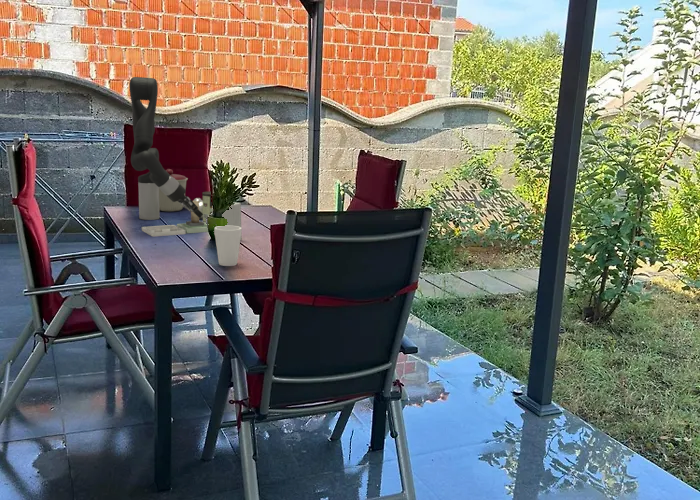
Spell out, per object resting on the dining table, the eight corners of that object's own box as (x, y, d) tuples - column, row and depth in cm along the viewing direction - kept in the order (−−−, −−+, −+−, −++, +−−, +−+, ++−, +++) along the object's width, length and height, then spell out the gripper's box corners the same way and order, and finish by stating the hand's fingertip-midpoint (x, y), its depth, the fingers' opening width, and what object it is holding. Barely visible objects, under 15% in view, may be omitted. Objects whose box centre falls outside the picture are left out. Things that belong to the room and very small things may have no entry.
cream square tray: (141, 232, 280) (141, 227, 279) (173, 230, 288) (173, 224, 287) (152, 238, 269) (152, 233, 268) (185, 236, 277) (185, 230, 276)
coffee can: (228, 221, 314) (228, 192, 311) (219, 225, 305) (219, 194, 302) (207, 219, 316) (207, 190, 313) (198, 223, 307) (198, 193, 303)
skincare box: (242, 239, 275) (242, 202, 271) (234, 242, 268) (234, 204, 265) (224, 237, 277) (224, 201, 274) (216, 240, 271) (216, 203, 268)
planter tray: (176, 230, 288) (176, 223, 287) (203, 228, 294) (202, 222, 294) (186, 235, 278) (186, 228, 277) (213, 233, 285) (213, 226, 284)
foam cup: (216, 260, 238) (216, 225, 235) (242, 260, 239) (242, 225, 236) (213, 266, 229) (213, 230, 226) (240, 267, 230) (240, 230, 227)
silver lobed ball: (192, 216, 324) (192, 196, 321) (211, 217, 323) (211, 197, 321) (187, 219, 315) (187, 198, 313) (207, 220, 314) (207, 199, 312)
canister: (160, 206, 349) (159, 166, 344) (193, 208, 346) (192, 168, 342) (145, 211, 331) (144, 169, 326) (179, 214, 329) (179, 171, 324)
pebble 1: (153, 234, 273) (153, 227, 273) (160, 233, 275) (160, 226, 274) (156, 235, 271) (155, 228, 270) (163, 234, 273) (163, 227, 272)
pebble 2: (169, 233, 277) (168, 226, 276) (175, 232, 279) (175, 225, 278) (171, 234, 274) (171, 227, 274) (178, 233, 276) (178, 226, 275)
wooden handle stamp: (185, 224, 286) (185, 200, 284) (199, 223, 289) (198, 200, 287) (191, 226, 281) (190, 202, 279) (204, 225, 284) (204, 202, 282)
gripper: (183, 183, 271) (211, 211, 281) (172, 180, 283) (199, 206, 292) (171, 197, 270) (200, 224, 279) (160, 192, 281) (187, 219, 290)
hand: (199, 215), depth 285 cm, fingers closed on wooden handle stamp, 3 cm apart
